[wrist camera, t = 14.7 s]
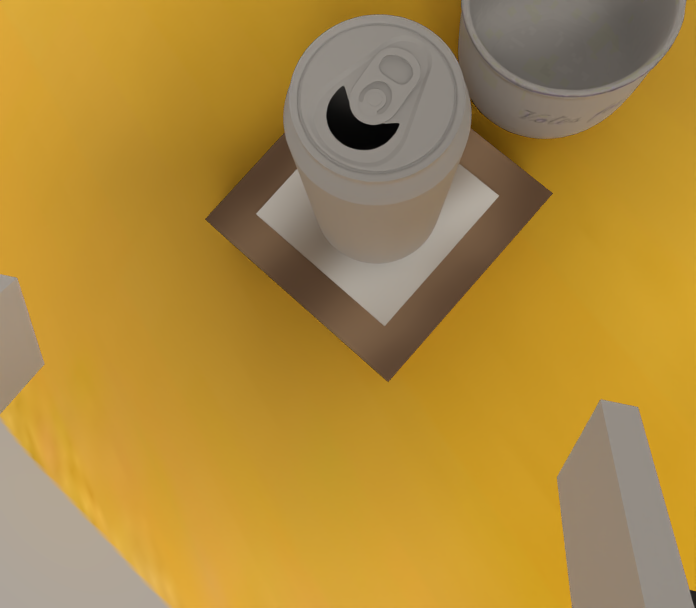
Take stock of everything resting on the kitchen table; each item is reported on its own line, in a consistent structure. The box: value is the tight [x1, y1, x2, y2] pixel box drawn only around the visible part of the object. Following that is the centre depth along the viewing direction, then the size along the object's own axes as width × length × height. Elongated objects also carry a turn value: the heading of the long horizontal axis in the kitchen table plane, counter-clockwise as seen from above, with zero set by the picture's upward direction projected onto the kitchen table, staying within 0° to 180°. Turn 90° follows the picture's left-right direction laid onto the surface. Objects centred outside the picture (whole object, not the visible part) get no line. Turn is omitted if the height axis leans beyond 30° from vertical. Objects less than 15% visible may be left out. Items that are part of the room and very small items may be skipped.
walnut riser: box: [205, 128, 553, 382], centre depth 33 cm, size 13×13×5 cm
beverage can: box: [283, 15, 472, 264], centre depth 24 cm, size 6×6×12 cm
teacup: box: [458, 0, 686, 139], centre depth 32 cm, size 14×11×8 cm
